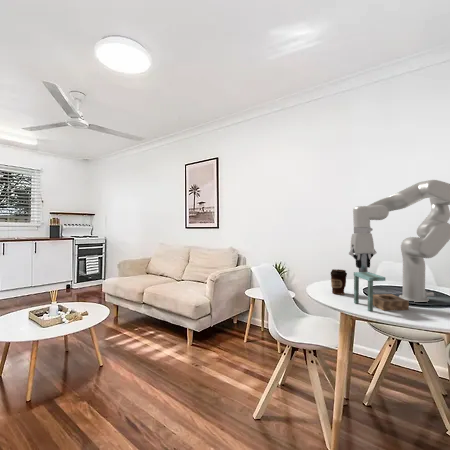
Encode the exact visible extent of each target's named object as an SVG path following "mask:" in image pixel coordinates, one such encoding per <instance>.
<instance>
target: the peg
mask: <svg viewBox="0 0 450 450" xmlns="http://www.w3.org/2000/svg"><path fill="white" fill-rule="evenodd" d="M360 260H361V268H358V272H369V271H368V270H369V268H368V266H367V253H363V254H360Z"/></svg>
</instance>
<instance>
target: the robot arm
mask: <svg viewBox="0 0 450 450" xmlns="http://www.w3.org/2000/svg"><path fill="white" fill-rule="evenodd" d="M424 199H429V202H430V206H431V209H430V212H429V214H428V215H426V217H425V218H424V219H423V221H421V223H420V224H419V225H418V227H417V228H416V235H417V236H418V237H417V236H410V237H405V238H404V239H403V240H402V242H401V244H400V252H401V257H402V294H399V295H398V297H400V298H402V299H405V300H408V301H414V302H413V303H415V302H427V303H429V302H428V301H430V299H429V298H428V297H435V293H434V292H433V291H432V292H431V291H430V292H428V291H426V262H425V259H432V258H434V257H436V256H437V255H438V254H439V253H440V251H441V250H443V249H444V247H445V246H446V244H448V242H450V223H449V221H450V183H449V182H446V181H442V180H438V179H430V180H428V179H427V180H424V181H419V182H415V184H412V185H410V186H408V187H406V188H403V189H402V190H400V191H399V192H396V193H393V194H391V195H388V196H386V197H384V198H380V199H379V200H377V201H374V202H373V203H370V204H369V205H363V206H362V205H358V206H355V207H353V208H352V209H353V210H352V213H353V214H352V216H353V233H352V234H351V237H350V251H349V252H348V255H350V256H351V257H353V259H354V260H355V267H356V268H358V269H359V268H361V260H360V254H363V253H367V266H368V269H369V268H371V260H372V258H373V257H374V256H375V255H376V254H377V251H376V249H375V243H374V237H373V233H371V232H372V231H373V228H372V227H371V221H382V220H385V219H386V218H387V217H388V216H389V214H390V212H394V211H397V210H398V211H399V210H403V209H406V208H408V207H411V206H412V205H414V204H416V203H418V202H421V201H422V200H424Z"/></svg>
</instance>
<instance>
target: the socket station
mask: <svg viewBox="0 0 450 450" xmlns="http://www.w3.org/2000/svg"><path fill="white" fill-rule="evenodd" d="M360 279H363V280H366V281H367V311H368V312H374V307H375V308H378V309H380V310H381V311H409V310H410V309H409V308H410V302H409V301H408V300H405V299H402V298H400V297H399V296H397V295H395V294H392V293H382V294H381V293H380V294H378V293H377V294H374V282H384V281H385V282H386V277H385V276H382V275H379V274H376V273H372V272H371V271H368V272H359V271H357V272H356V271H355V272H353V303H354V304H355V305H358V304H359V302H360V301H359V300H360V299H359V296H360V294H359V293H360V292H359V291H360V288H359V286H360Z"/></svg>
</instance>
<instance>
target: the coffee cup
mask: <svg viewBox="0 0 450 450" xmlns="http://www.w3.org/2000/svg"><path fill="white" fill-rule="evenodd" d="M347 276H348V273H347V270H345V269H335V268H334V269H331V272H330V282H331V283H330V284H331V285H330V286H331V290H332V291H331V292H332V294H334V295H338V296H339V295H340V296H343V295H346V294H345V288H346V285H347Z"/></svg>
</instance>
